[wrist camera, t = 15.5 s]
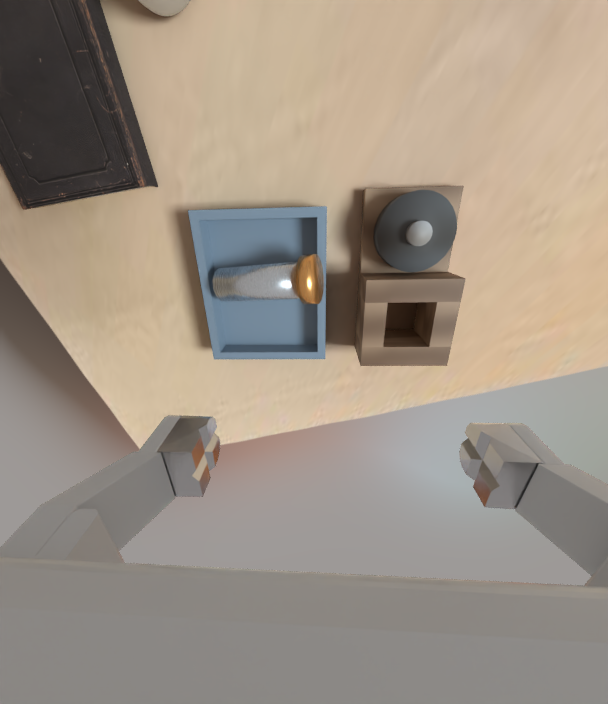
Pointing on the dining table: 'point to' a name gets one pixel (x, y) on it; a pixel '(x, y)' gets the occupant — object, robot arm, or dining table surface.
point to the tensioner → (408, 274)
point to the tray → (258, 249)
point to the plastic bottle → (165, 6)
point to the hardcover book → (65, 105)
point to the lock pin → (272, 281)
